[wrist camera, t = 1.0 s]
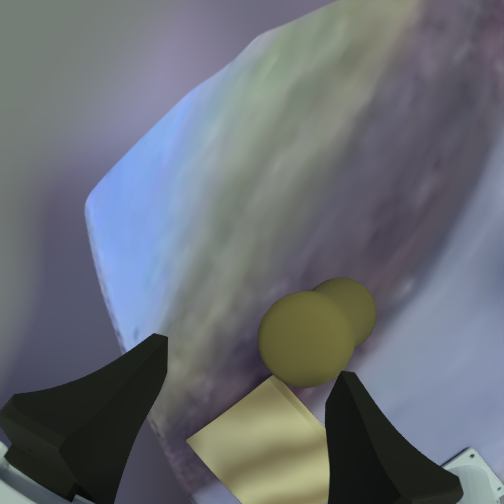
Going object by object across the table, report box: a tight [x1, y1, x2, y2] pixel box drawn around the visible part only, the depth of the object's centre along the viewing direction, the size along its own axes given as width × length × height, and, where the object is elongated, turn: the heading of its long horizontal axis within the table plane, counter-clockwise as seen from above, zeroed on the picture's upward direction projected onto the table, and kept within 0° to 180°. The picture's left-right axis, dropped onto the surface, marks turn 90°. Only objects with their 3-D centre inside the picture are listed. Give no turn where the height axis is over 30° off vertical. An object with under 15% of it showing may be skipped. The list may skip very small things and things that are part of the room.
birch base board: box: [186, 375, 330, 504], centre depth 25 cm, size 14×14×2 cm
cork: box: [258, 278, 376, 388], centre depth 19 cm, size 6×6×11 cm
